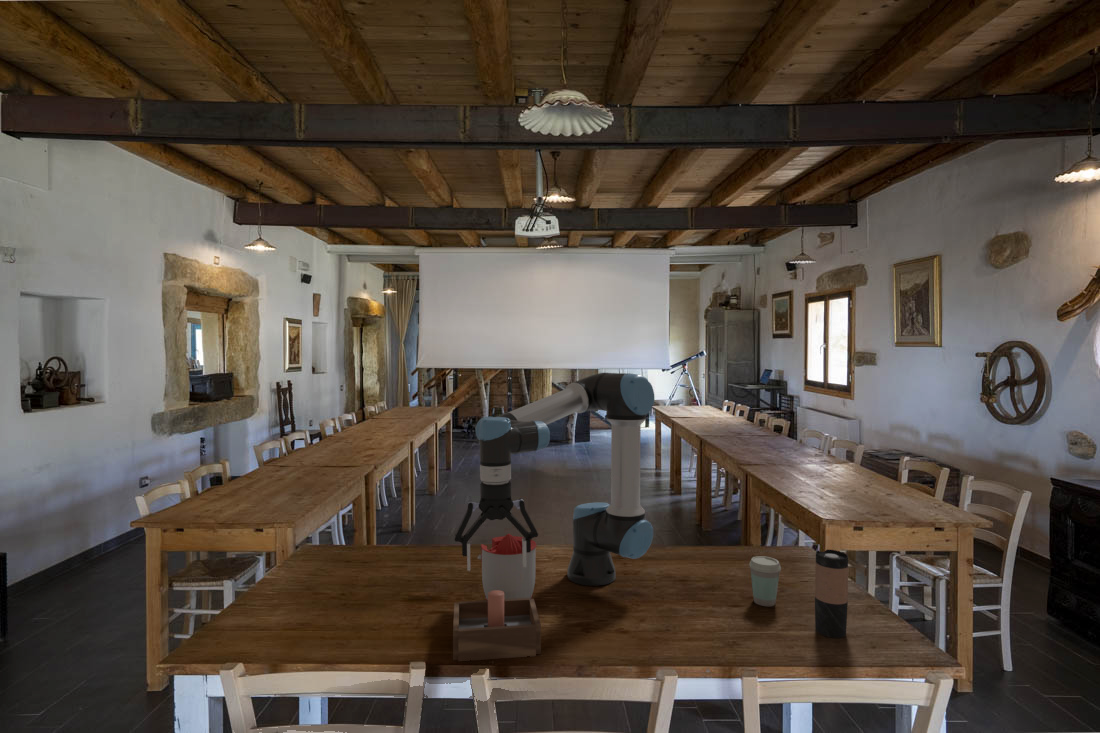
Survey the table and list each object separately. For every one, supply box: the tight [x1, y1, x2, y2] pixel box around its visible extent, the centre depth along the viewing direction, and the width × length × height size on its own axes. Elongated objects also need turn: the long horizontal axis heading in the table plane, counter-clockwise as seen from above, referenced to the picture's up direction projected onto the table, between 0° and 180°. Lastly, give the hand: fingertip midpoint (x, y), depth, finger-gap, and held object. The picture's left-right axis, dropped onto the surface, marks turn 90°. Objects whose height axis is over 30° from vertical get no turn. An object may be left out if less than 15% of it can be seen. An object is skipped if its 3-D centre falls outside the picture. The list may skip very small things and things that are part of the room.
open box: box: [452, 598, 542, 662], centre depth 148 cm, size 16×20×7 cm
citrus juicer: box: [477, 533, 537, 600], centre depth 170 cm, size 16×17×20 cm
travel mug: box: [814, 549, 849, 639], centre depth 153 cm, size 8×8×20 cm
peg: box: [488, 590, 504, 627], centre depth 147 cm, size 4×4×12 cm
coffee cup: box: [748, 555, 782, 607], centre depth 171 cm, size 8×9×12 cm
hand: (496, 567), depth 147 cm, fingers open, 13 cm apart
